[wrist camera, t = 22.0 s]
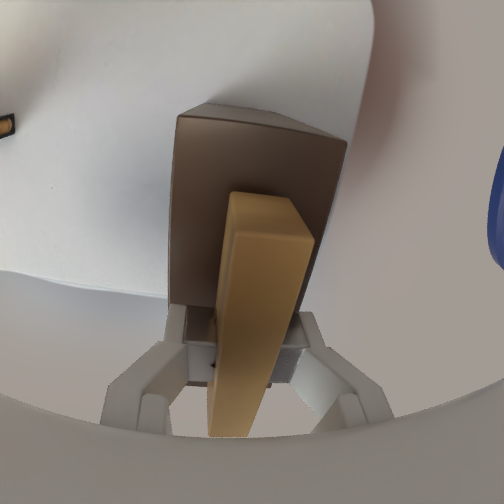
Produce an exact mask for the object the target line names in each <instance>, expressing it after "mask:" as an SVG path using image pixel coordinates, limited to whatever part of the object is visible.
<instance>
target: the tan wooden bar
mask: <svg viewBox="0 0 504 504" xmlns="http://www.w3.org/2000/svg"><path fill="white" fill-rule="evenodd" d="M314 242H315V241H314V238H313V236H312V234H311V233H310V231H309V229H308V228H307V226H306V224H305V223H304V221H303V220H302V218H301V216H300V215H299V213H298V211H297V210H296V208H295V207H294V205H293V203H292V202H291V200H290V199H289V198H285V197H277V196H269V195H261V194H253V193H245V192H236V191H233V192H231V193H230V197H229V204H228V211H227V218H226V226H225V233H224V241H223V249H222V256H221V264H220V273H219V281H218V289H217V298H216V307H215V308H217V323H216V325H217V335H218V347H217V355H216V362H215V372H214V380H213V382H208V385H207V418H208V436H209V437H247V436H248V433H249V431H250V428H251V426H252V423H253V421H254V418H255V416H256V413H257V411H258V408H259V406H260V403H261V400H262V398H263V395H264V393H265V390H266V387H267V385H268V382H269V379H270V377H271V374H272V371H273V368H274V366H275V363H276V360H277V357H278V354H279V352H280V349H281V346H282V343H283V340H284V337H285V334H286V331H287V328H288V326H289V323H290V320H291V317H292V314H293V310H294V307H295V304H296V301H297V298H298V295H299V292H300V289H301V286H302V282H303V279H304V276H305V273H306V269H307V266H308V263H309V259H310V256H311V253H312V249H313V246H314Z"/></svg>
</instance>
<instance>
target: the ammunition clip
mask: <svg viewBox="0 0 504 504" xmlns="http://www.w3.org/2000/svg"><path fill="white" fill-rule="evenodd" d="M13 134H14V117H13V114H9V115H5V116H1V117H0V139H2V138H4V137H7V136H10V135H13Z"/></svg>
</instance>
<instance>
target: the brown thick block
mask: <svg viewBox="0 0 504 504" xmlns="http://www.w3.org/2000/svg"><path fill="white" fill-rule="evenodd" d="M346 148H347V141H345V140H343V139H341V138H338V137H336V136H334V135H331V134H329V133H327V132H324V131H322V130H320V129H317V128H315V127H312V126H310V125H307V124H305V123H302V122H299V121H297V120H294V119H291V118H289V117H286V116H283V115H280V114H278V113H275V112H270V111H264V110H258V109H252V108H245V107H237V106H230V105H221V104H211V103H204V104H201V105H199V106H197V107H195V108H193V109H190V110H188V111H186V112H184V113H182V114H180V115H178V116H177V121H176V130H175V140H174V150H173V162H172V174H171V189H170V207H169V232H168V310H169V306H170V304H179V305H186V306H187V305H191V306H201V307H211V308H215V307H216V298H217V289H218V281H219V273H220V264H221V256H222V249H223V241H224V233H225V226H226V218H227V211H228V204H229V197H230V193H231V192H233V191H236V192H245V193H253V194H261V195H269V196H277V197H285V198H289V199H290V200H291V202H292V203H293V205H294V207H295V208H296V210H297V211H298V213H299V215H300V216H301V218H302V220H303V221H304V223H305V224H306V226H307V228H308V229H309V231H310V233H311V234H312V236H313V238H314V241H315V242H314V246H313V249H312V253H311V256H310V259H309V263H308V266H307V269H306V273H305V276H304V279H303V282H302V286H301V289H300V292H299V295H298V298H297V301H296V304H295V307H294V310H293V312H299V309H300V306H301V303H302V300H303V298H304V295H305V292H306V289H307V285H308V282H309V279H310V276H311V273H312V270H313V267H314V264H315V260H316V257H317V254H318V251H319V247H320V244H321V241H322V237H323V234H324V231H325V227H326V224H327V220H328V217H329V213H330V210H331V206H332V203H333V199H334V195H335V192H336V188H337V184H338V180H339V176H340V172H341V169H342V165H343V161H344V157H345V152H346ZM207 385H208V382H199V381H188V383H187V384H186V385H185V386H199V387H207ZM271 385H272V383H268V385H267V387H266V388H271Z"/></svg>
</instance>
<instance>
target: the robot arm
mask: <svg viewBox="0 0 504 504" xmlns="http://www.w3.org/2000/svg"><path fill="white" fill-rule="evenodd" d="M216 323H217V308H211V307H201V306H191V305H187V306H186V305H179V304H170V306H169V310H168V316H167V322H166V328H165V334H164V341H158V342H157V343H156V344H155V345H154V346H153V347H151V348H150V349H149V350H148V351H147V352H146V353H145V354H144V355H143V356H141V357H140V358H139V359H138V360H137V361H136V362H135V363H133V364H132V365H131V366H130V367H129V368H128V369H127V370H126V371H124V372H123V373H122V374H121V375H120V376H119V377H118V378H116V379H115V380H114V381H113V382H112V383H111V384H110V385H108V389H107V393H106V397H105V402H104V406H103V411H102V416H101V420H100V424H95V423H91V422H86V421H82V420H78V419H74V418H70V417H67V416H63V415H60V414H56V413H53V412H50V411H47V410H43V409H40V408H37V407H34V406H31V405H29V404H26V403H23V402H20V401H18V400H15V399H13V398H10V397H7V396H5V395H3V394H0V504H504V378H503V379H501V380H499V381H497V382H495V383H493V384H491V385H488V386H486V387H484V388H482V389H480V390H477V391H475V392H472V393H470V394H467V395H465V396H462V397H460V398H457V399H454V400H452V401H449V402H446V403H443V404H440V405H438V406H435V407H431V408H429V409H425V410H422V411H419V412H415V413H412V414H408V415H405V416H401V417H397V418H395V417H394V415H393V413H392V410H391V408H390V406H389V403H388V401H387V399H386V396H385V394H384V392H383V390H382V387H380V386H379V385H378V384H377V383H375V382H374V381H373V380H371V379H370V378H369V377H367V376H366V375H365V374H364V373H362V372H361V371H360V370H358V369H357V368H356V367H355V366H353V365H352V364H351V363H349V362H348V361H347V360H346V359H344V358H343V357H342V356H341V355H339V354H338V353H337V352H336V351H334V350H333V349H332V348H331V347H326V346H325V343H324V341H323V339H322V336H321V333H320V330H319V328H318V325H317V323H316V320H315V318H314V315H313V313H312V312H293V314H292V317H291V320H290V323H289V326H288V328H287V331H286V334H285V337H284V340H283V343H282V346H281V349H280V352H279V354H278V357H277V360H276V363H275V366H274V368H273V371H272V374H271V377H270V379H269V382H268V383H289V384H290V386H291V387H292V388H293V389H294V390H295V391H296V393H297V394H298V395H299V396H300V397H301V398H302V399H303V400H304V402H305V403H306V404H307V405H308V406H309V407H310V408H311V409H312V410H313V412H314V413H315V414H316V415H317V416H318V417H319V418H320V419H321V421H320V422H319V423H318V424H317V426H316V427H315V428H314V429H313V431H312V432H311V433H310V434H304V435H293V436H281V437H264V438H201V437H185V436H184V437H183V436H173V434H172V428H171V421H170V413H169V406H170V405H171V403H172V402H173V401H174V399H175V398H176V397H177V396H178V394H179V393H180V392H181V390H182V389H183V388H184V387H185V385H186V384H187V383H188V381H199V382H213V380H214V372H215V362H216V355H217V347H218V335H217V325H216Z"/></svg>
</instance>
